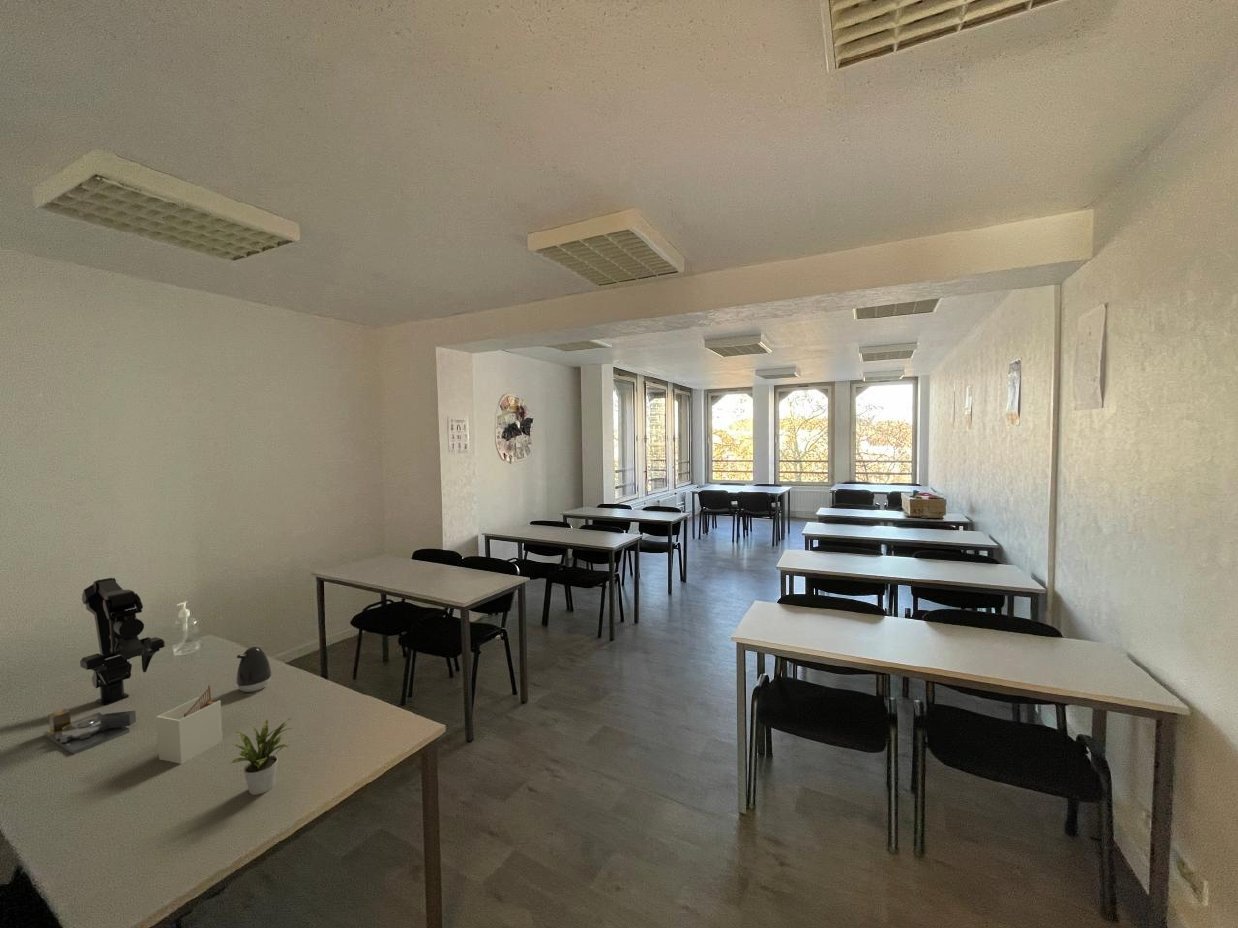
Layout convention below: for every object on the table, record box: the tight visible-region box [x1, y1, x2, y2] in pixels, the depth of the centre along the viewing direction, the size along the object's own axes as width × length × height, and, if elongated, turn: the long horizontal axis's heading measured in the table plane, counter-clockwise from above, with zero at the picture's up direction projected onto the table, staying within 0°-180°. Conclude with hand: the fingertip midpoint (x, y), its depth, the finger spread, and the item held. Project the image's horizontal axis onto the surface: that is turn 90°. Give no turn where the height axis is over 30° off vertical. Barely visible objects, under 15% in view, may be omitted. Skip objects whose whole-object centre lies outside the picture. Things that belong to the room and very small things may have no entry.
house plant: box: [229, 717, 293, 796], centre depth 124 cm, size 14×14×16 cm
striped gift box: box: [48, 708, 72, 733], centre depth 150 cm, size 4×4×5 cm
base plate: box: [43, 712, 130, 755], centre depth 150 cm, size 22×12×1 cm, turn 64°
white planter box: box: [156, 684, 224, 765], centre depth 141 cm, size 9×11×17 cm
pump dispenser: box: [235, 646, 273, 693], centre depth 175 cm, size 10×10×15 cm
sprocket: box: [55, 710, 137, 742], centre depth 150 cm, size 18×12×4 cm
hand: (126, 678), depth 160 cm, fingers open, 9 cm apart
